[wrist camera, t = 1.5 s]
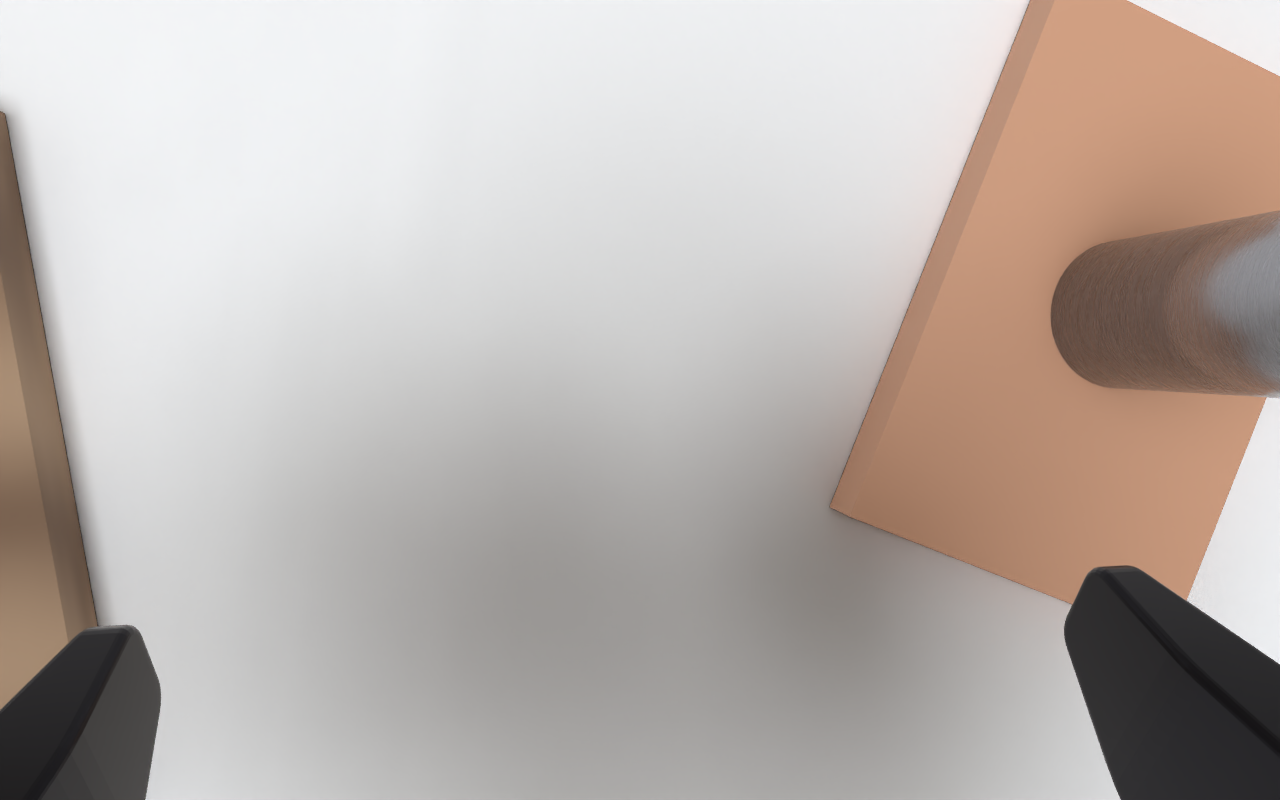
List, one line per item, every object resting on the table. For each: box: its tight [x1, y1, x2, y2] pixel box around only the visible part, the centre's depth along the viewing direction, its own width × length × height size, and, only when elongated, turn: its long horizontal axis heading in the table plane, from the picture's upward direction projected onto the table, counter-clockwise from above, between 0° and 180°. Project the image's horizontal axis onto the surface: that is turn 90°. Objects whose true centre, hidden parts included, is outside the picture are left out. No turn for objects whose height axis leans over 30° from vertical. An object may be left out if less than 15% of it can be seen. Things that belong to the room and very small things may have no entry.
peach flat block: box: [830, 0, 1280, 604], centre depth 25 cm, size 14×9×2 cm, turn 158°
